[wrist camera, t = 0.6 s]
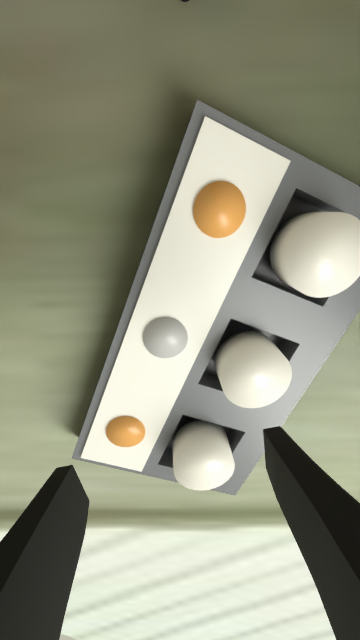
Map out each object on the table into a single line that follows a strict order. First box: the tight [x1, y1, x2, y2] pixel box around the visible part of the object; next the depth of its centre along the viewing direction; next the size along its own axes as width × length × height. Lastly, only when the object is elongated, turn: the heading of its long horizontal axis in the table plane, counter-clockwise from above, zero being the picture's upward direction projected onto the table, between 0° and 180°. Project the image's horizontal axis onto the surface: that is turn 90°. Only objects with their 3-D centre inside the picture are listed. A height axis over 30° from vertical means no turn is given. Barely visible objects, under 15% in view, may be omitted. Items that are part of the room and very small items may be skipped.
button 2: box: [214, 331, 292, 408], centre depth 18 cm, size 4×4×2 cm
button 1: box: [270, 212, 360, 298], centre depth 15 cm, size 4×4×2 cm
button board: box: [72, 100, 360, 495], centre depth 19 cm, size 14×24×2 cm, turn 158°
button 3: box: [172, 421, 235, 490], centre depth 20 cm, size 4×4×2 cm
